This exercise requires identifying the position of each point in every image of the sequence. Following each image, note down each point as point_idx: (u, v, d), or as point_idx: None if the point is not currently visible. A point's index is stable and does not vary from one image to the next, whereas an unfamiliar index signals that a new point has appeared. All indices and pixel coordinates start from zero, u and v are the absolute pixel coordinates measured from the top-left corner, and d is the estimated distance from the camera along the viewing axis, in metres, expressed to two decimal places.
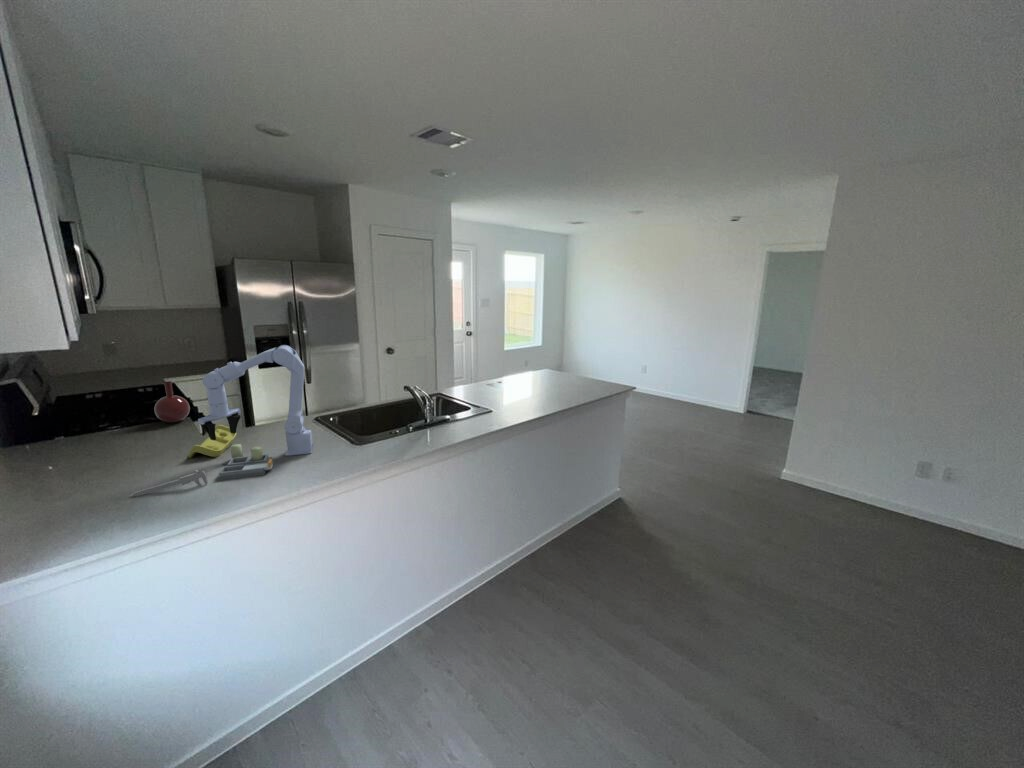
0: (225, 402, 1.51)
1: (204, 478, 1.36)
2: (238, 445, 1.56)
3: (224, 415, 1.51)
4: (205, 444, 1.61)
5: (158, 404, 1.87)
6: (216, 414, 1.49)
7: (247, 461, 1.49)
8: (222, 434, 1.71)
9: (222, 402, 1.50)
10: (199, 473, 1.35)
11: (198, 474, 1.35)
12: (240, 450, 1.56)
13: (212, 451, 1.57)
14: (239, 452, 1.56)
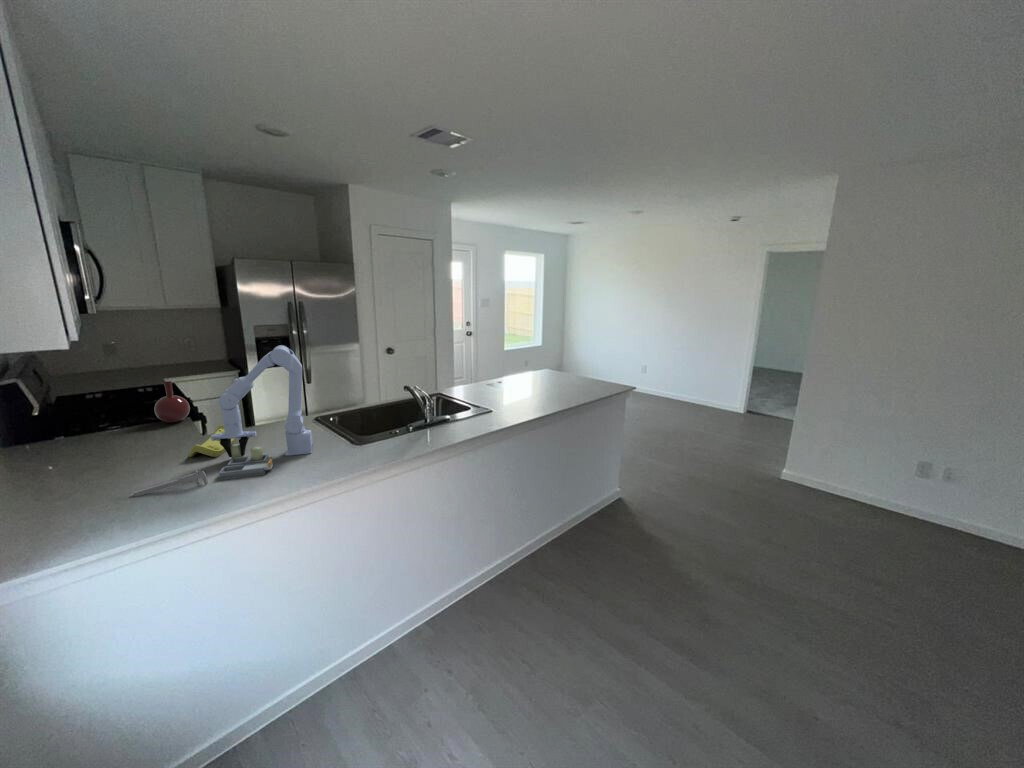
0: (233, 424, 1.51)
1: (204, 478, 1.36)
2: (238, 445, 1.56)
3: (231, 437, 1.52)
4: (206, 444, 1.62)
5: (158, 404, 1.87)
6: (225, 434, 1.52)
7: (247, 461, 1.49)
8: None
9: (237, 422, 1.52)
10: (199, 473, 1.35)
11: (198, 474, 1.35)
12: (240, 450, 1.56)
13: (212, 451, 1.57)
14: (239, 452, 1.56)
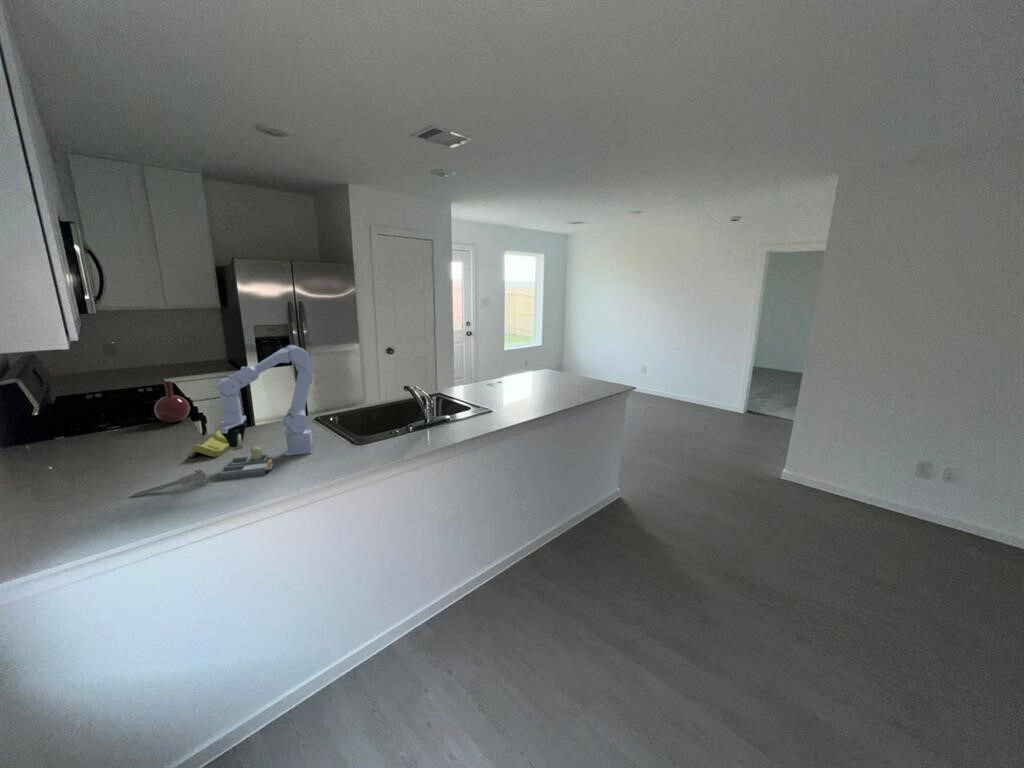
0: (240, 408, 1.48)
1: (204, 478, 1.36)
2: None
3: (241, 422, 1.48)
4: (206, 444, 1.62)
5: (158, 404, 1.87)
6: (234, 421, 1.46)
7: (247, 461, 1.49)
8: None
9: (238, 409, 1.46)
10: (199, 473, 1.35)
11: (198, 474, 1.35)
12: None
13: (212, 451, 1.57)
14: None
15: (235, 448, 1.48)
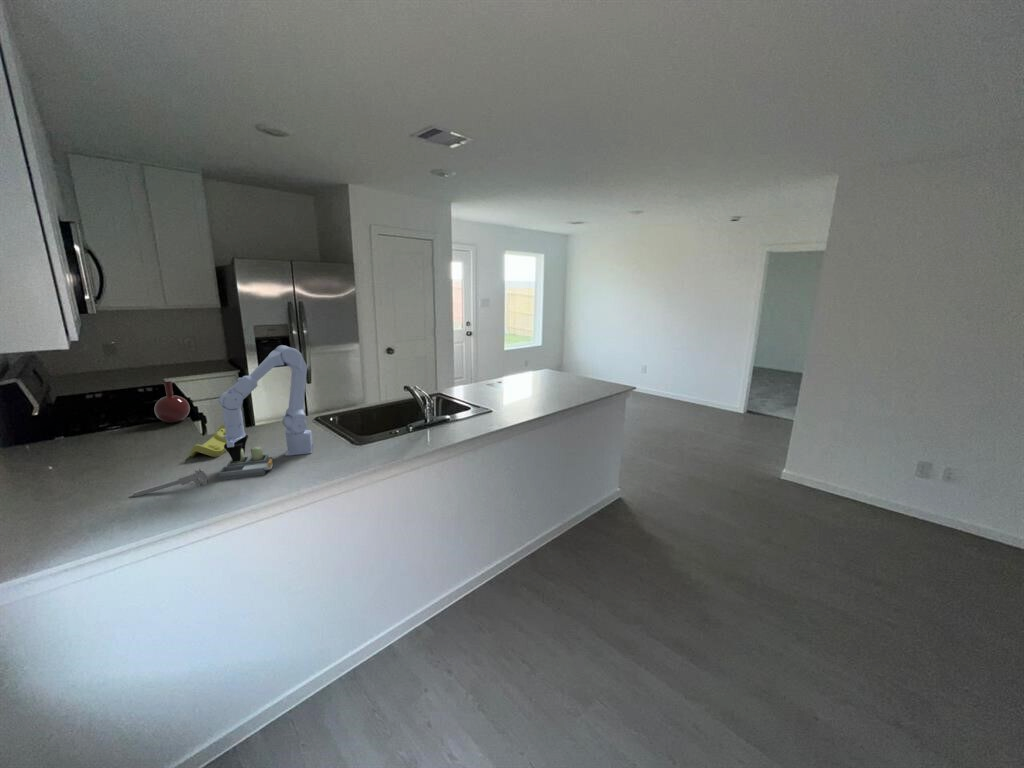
0: (242, 421, 1.48)
1: (204, 478, 1.36)
2: None
3: (244, 435, 1.49)
4: (207, 443, 1.62)
5: (158, 404, 1.87)
6: (239, 435, 1.46)
7: (247, 461, 1.49)
8: None
9: (241, 422, 1.46)
10: (199, 473, 1.35)
11: (198, 474, 1.35)
12: None
13: (212, 451, 1.57)
14: None
15: None
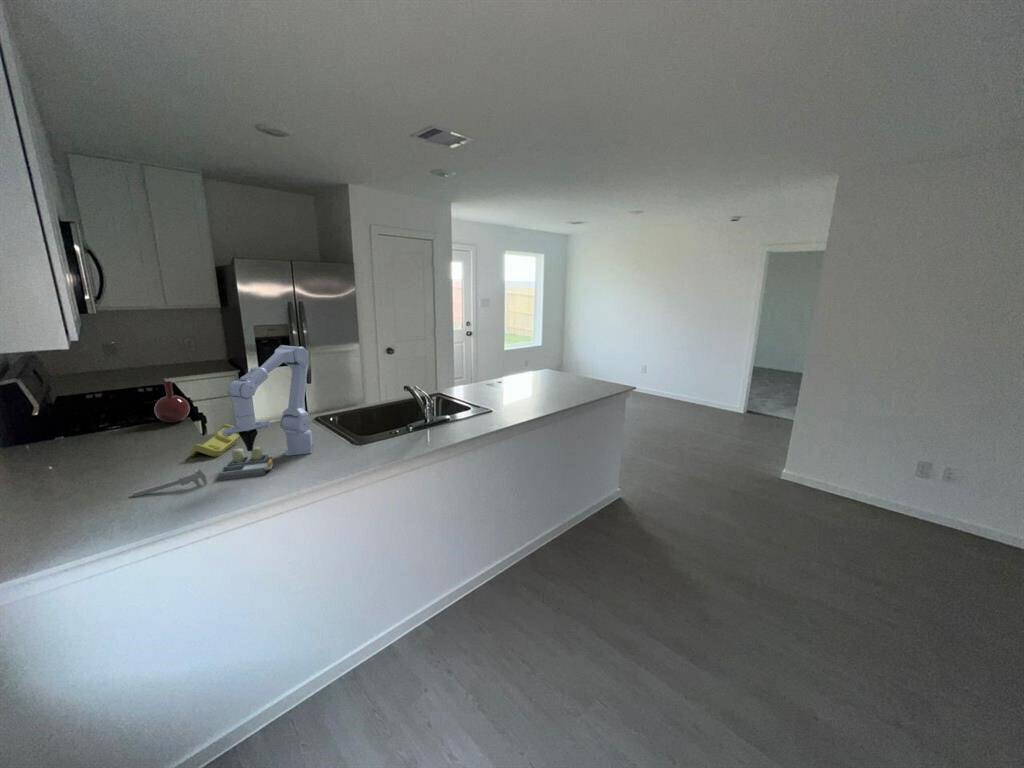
0: (250, 414, 1.39)
1: (203, 478, 1.36)
2: (238, 449, 1.50)
3: (248, 429, 1.39)
4: (208, 443, 1.62)
5: (158, 404, 1.87)
6: (239, 426, 1.38)
7: (247, 461, 1.49)
8: None
9: None
10: (198, 473, 1.35)
11: (197, 474, 1.35)
12: None
13: (212, 451, 1.57)
14: None
15: None
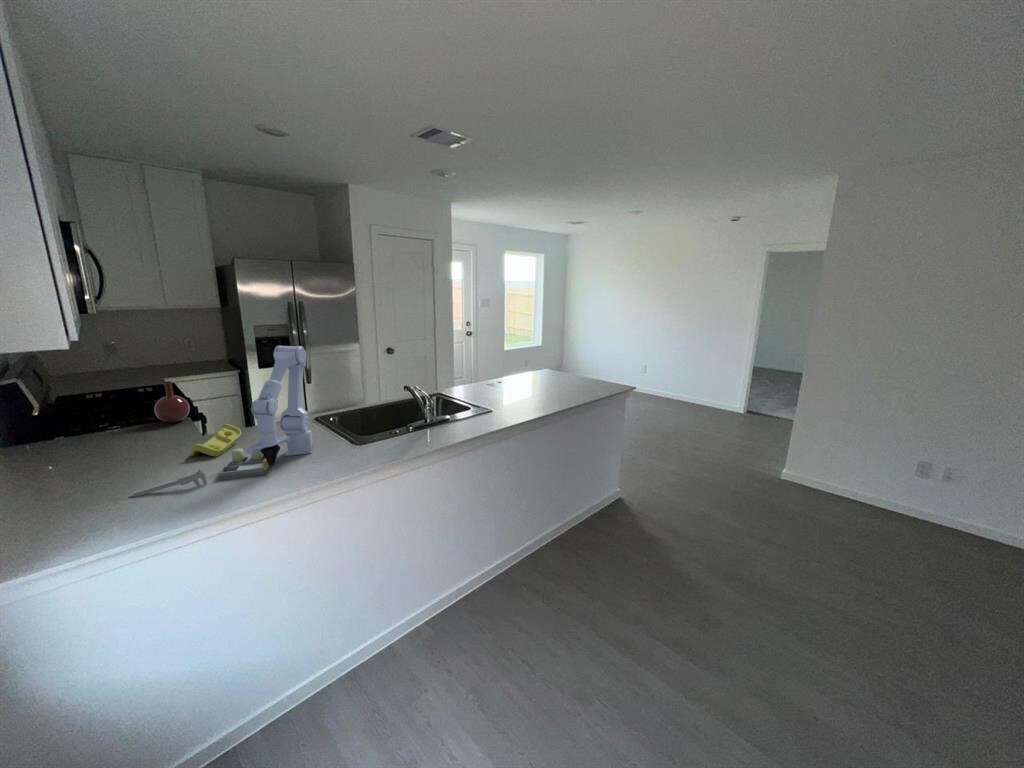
0: (274, 430, 1.44)
1: (203, 478, 1.36)
2: (238, 449, 1.50)
3: (273, 444, 1.44)
4: (208, 443, 1.62)
5: (158, 404, 1.87)
6: (264, 443, 1.43)
7: (247, 461, 1.49)
8: (227, 433, 1.72)
9: None
10: (198, 473, 1.35)
11: (197, 474, 1.35)
12: None
13: (212, 451, 1.57)
14: None
15: None
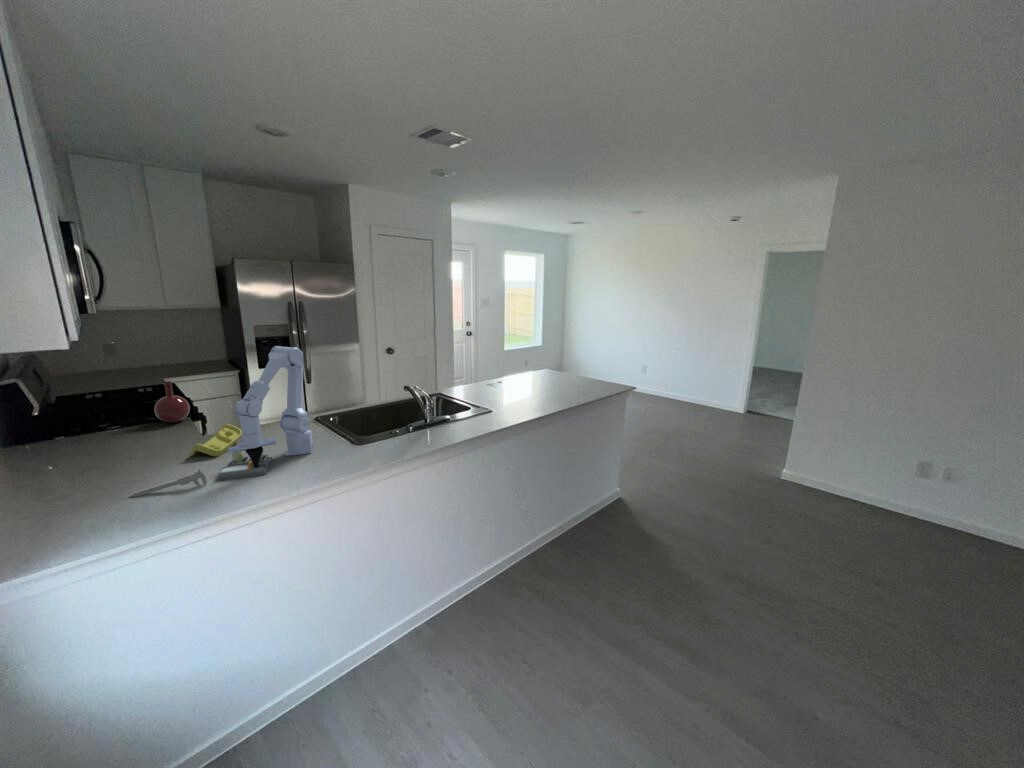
0: (256, 432, 1.42)
1: (203, 478, 1.36)
2: None
3: (254, 446, 1.42)
4: (208, 443, 1.62)
5: (158, 404, 1.87)
6: (246, 444, 1.41)
7: (247, 461, 1.49)
8: (228, 433, 1.72)
9: (260, 429, 1.44)
10: (198, 473, 1.35)
11: (197, 474, 1.35)
12: None
13: (212, 451, 1.57)
14: None
15: None
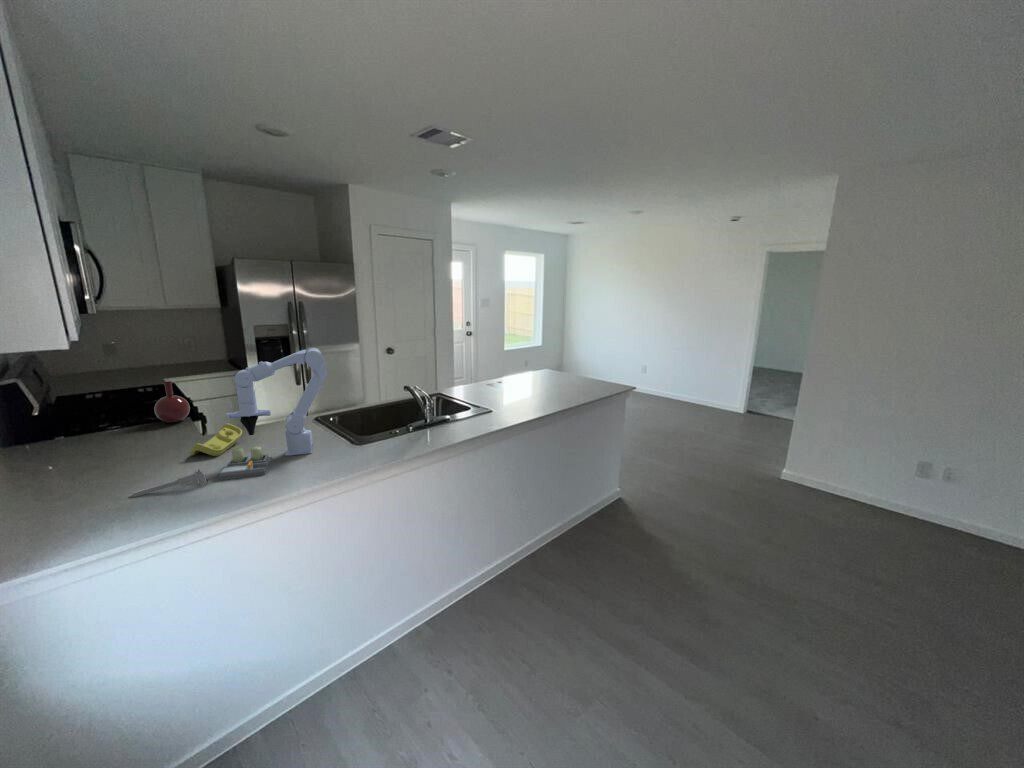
0: (248, 402, 1.51)
1: (203, 479, 1.36)
2: (238, 449, 1.50)
3: (246, 415, 1.52)
4: (209, 442, 1.63)
5: (158, 404, 1.87)
6: (240, 412, 1.52)
7: (247, 461, 1.49)
8: (228, 433, 1.73)
9: (252, 400, 1.52)
10: (198, 474, 1.35)
11: (197, 475, 1.35)
12: None
13: (212, 450, 1.57)
14: None
15: None
